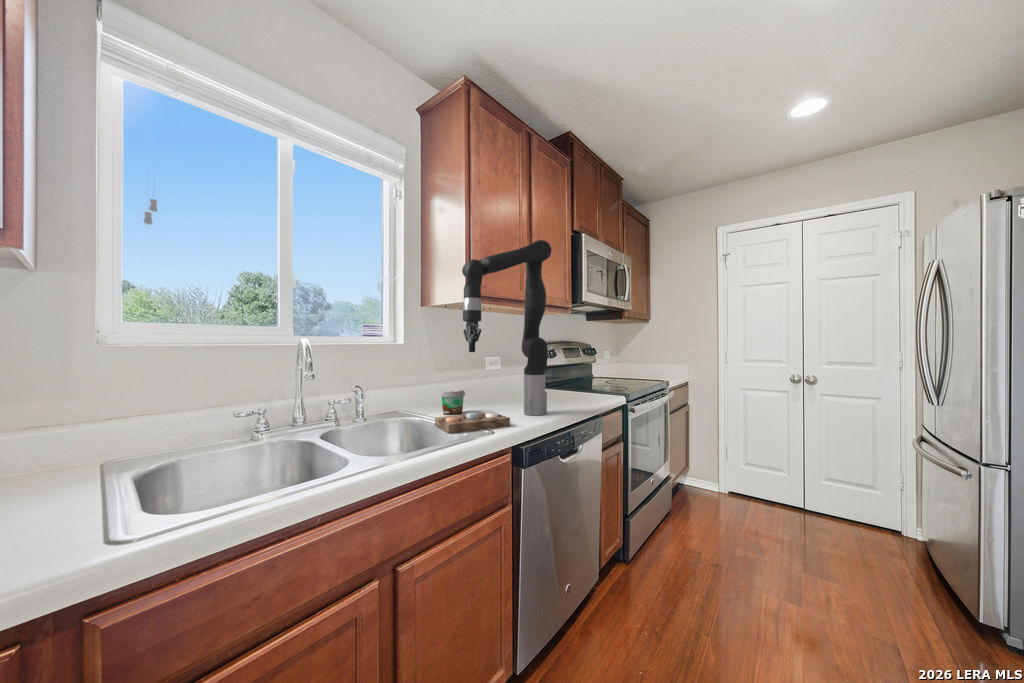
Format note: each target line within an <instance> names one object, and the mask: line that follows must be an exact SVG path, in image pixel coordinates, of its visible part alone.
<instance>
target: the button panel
mask: <svg viewBox="0 0 1024 683" xmlns="http://www.w3.org/2000/svg"><path fill="white" fill-rule="evenodd" d="M478 413H479V419H474V420H467V419H466V414H459V415H446V416H439V417H434V426H435V427H437V428H438V429H440V430H442V431H443V432H445V433H446V434H455V433H457V434H458V433H466V432H473V431H479V430H480V429H483V430H489V429H488V428H491V429H497V428H498V429H499V428H506V427H511V426H510V425H511V418H510V417H508V416H505V415H504V414H503V415H502V414H499V413H497V414H498V417H493V418H487V417H485V414H486V413H495V412H494V411H489V412H478ZM446 417H459V421H455V422H446V421H445V418H446ZM480 431H481V430H480Z"/></svg>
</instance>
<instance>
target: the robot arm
mask: <svg viewBox="0 0 1024 683" xmlns="http://www.w3.org/2000/svg"><path fill="white" fill-rule="evenodd" d="M551 255H552V246H551V245H550V243H549V242H548V241H546V240H543V239H538V240H536V241H533V242H532V243H530V244H529V245H526V246H523V247H521V248H517V249H512V250H509V251H508V250H507V251H504V252H501V253H496V254H493V255H488V256H486V257H484V258H481V259H470V260H467V262H466V263H464V265H463V267H462V269H461V272H462V275H463V276H464V277H465V284H464V286H463V302H462V321H463V322H466V323H465V329H463V334H464V338H465V341H466V342H467V343H468V352H469V353H475V352H476V343H477V342H478V341H479V339H480V336H481V334H482V329H481V328H479V322H482V289H481V288H482V283H483V276H486V275H487V274H495V273H498V272H501V271H505V270H509V269H510V268H513V267H515V266H518V265H522V264H524V263H525V272H526V273H525V276H526V277H525V291H524V320H523V321H524V323H523V334H522V341H521V351H522V354H523V355H524V357H525V358H527V364H526V366H525V367H524V368H523V414H524V415H526V416H542V415H545V414H548V392H547V391H546V369H547V366H548V356H549V354H548V353H549V352H548V351H549V350H548V348H549V347H548V344H547V342H546V340H545V339H544V338H542V337H540V328H541V327H540V325H541V322H542V319H543V317H544V314H545V311H546V307H547V306H546V305H547V291H546V287H545V284H544V281H543V277H542V275H543V274H542V271H543V270H542V269H543V262H545V261H546V260H548V259H550V257H551Z"/></svg>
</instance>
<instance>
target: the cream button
mask: <svg viewBox="0 0 1024 683" xmlns="http://www.w3.org/2000/svg"><path fill="white" fill-rule="evenodd" d="M485 413H486V414H485V417H487V418H493V417H498V414H499V413H497V412H494V413H487V412H485Z"/></svg>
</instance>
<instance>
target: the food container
mask: <svg viewBox="0 0 1024 683" xmlns="http://www.w3.org/2000/svg"><path fill="white" fill-rule="evenodd" d="M465 396H466V392H465V390H464V389H462V388H460V389H459V390H458V391H452V390H451V391H441V393H440V397H441V404H442V405H441V406H442V408H441V409H442V415H443V416H457V415H463V408H464V406H463V405H464V397H465Z"/></svg>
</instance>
